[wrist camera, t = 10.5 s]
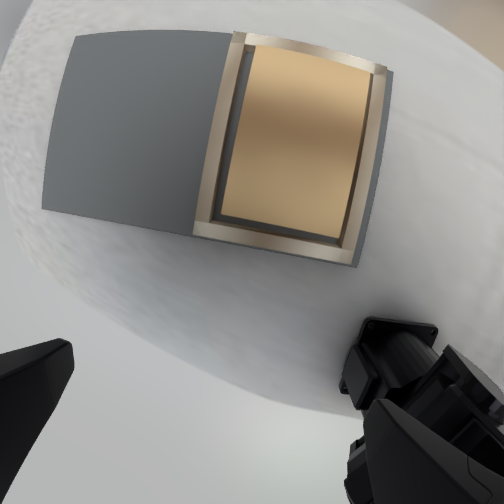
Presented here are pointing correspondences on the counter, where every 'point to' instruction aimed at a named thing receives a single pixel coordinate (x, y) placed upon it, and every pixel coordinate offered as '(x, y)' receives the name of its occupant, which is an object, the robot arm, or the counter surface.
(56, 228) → the counter surface
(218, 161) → the frame
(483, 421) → the robot arm
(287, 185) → the tile
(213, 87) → the mat
